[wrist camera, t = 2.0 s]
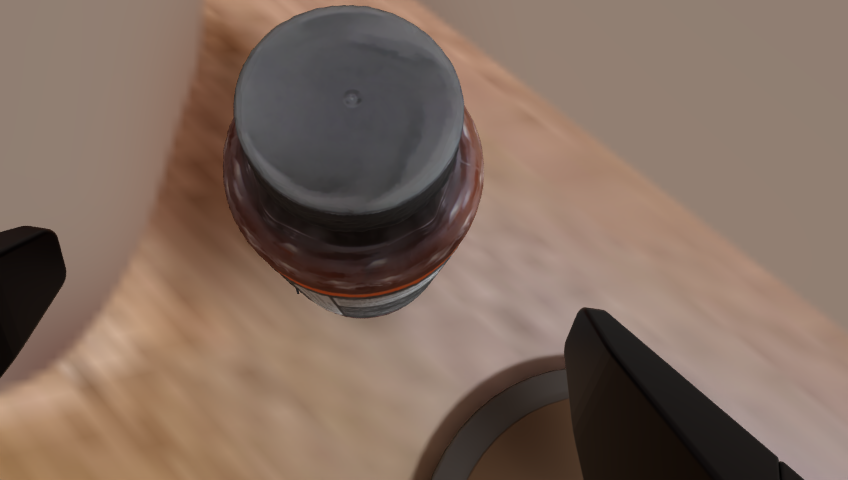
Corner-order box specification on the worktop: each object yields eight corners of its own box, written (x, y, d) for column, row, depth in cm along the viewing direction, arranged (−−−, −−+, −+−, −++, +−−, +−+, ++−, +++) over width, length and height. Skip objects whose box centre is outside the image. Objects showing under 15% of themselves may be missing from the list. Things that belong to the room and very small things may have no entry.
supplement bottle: (284, 176, 20) (173, -54, 9) (432, 169, 20) (501, -52, 9) (288, 328, 18) (161, 280, 7) (446, 315, 19) (545, 255, 8)
